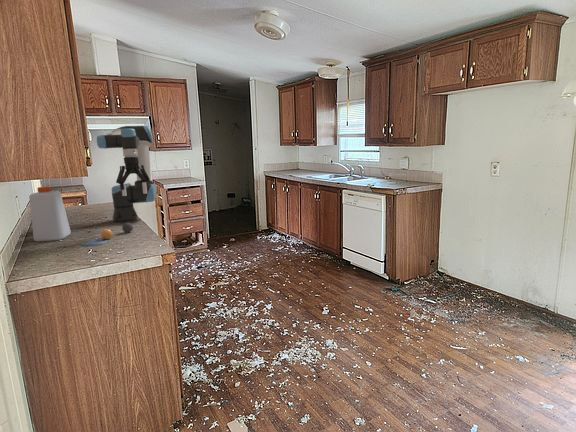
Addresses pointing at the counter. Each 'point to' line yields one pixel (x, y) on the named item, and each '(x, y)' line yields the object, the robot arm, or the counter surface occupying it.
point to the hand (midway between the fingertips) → (135, 194)
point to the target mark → (95, 242)
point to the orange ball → (106, 233)
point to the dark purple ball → (127, 227)
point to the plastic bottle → (48, 215)
